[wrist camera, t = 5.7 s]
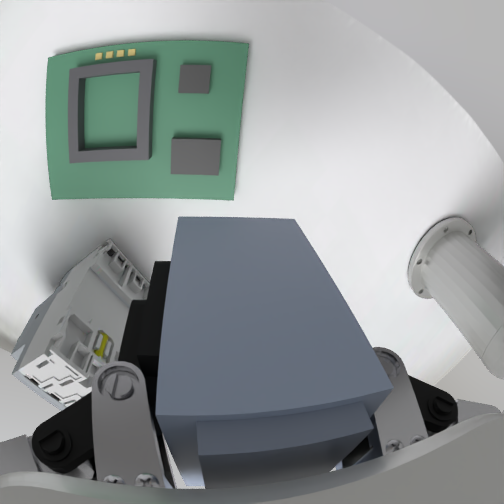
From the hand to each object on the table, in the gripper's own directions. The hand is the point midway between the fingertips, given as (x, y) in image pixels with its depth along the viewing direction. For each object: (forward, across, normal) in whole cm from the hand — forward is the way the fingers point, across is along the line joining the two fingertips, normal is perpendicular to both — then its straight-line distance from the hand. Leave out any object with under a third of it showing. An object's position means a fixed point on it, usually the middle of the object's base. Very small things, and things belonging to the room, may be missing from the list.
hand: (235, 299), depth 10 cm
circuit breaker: (+19, +14, +15) cm, 28 cm away
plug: (+1, 0, 0) cm, 1 cm away
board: (+18, +7, -4) cm, 20 cm away
